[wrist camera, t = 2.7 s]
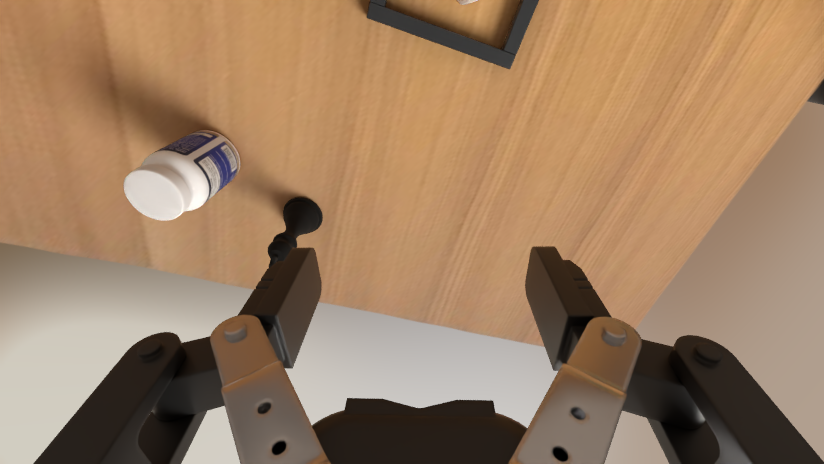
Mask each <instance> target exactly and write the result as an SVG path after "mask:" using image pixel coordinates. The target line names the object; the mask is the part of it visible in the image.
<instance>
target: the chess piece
mask: <svg viewBox="0 0 824 464" xmlns="http://www.w3.org/2000/svg"><path fill="white" fill-rule="evenodd" d="M283 216H284V221H285V225H286V230H285V232H283V233H280V234H278V235H276V236H275V238H274V240H273V242H272V243H271V244H270V245H269V247H268V254H269V256H270V258H271V260H270V264H269V268H270V267H271V266H272V265H274V264H275V263H276V262H278V261H284V260H285V259H286V257H287V255H288V254H289V252H290V250H291V249H292V248H297V241H296V238H297V237H298V236H299V235H302V234H307V233H310V232H313V231H315V230H316V229H318V228H319V226H320V225H321V223H322V218H323V217H322V212H321V210H320V208H319V207H318V205H317V204H316V203H314V202H313V201H311V200H309V199H306V198H294V199H291V200H290V201H288V202H287V204H286V205H285V207H284V210H283Z"/></svg>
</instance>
